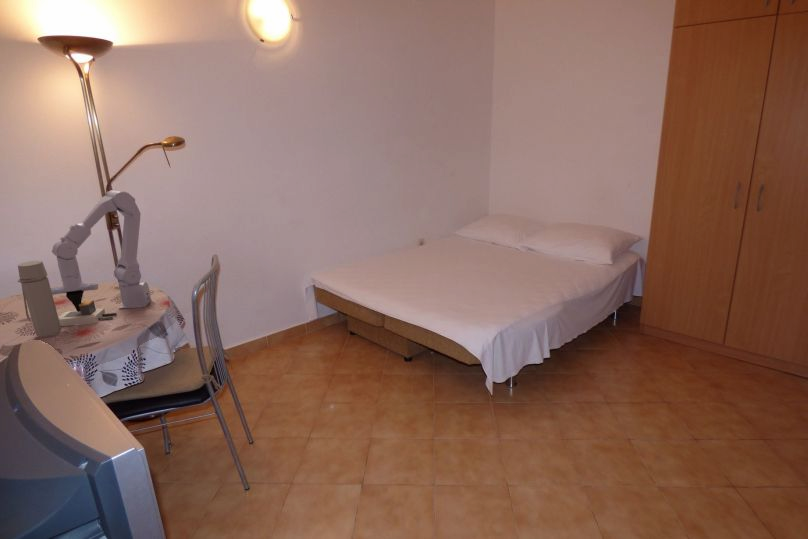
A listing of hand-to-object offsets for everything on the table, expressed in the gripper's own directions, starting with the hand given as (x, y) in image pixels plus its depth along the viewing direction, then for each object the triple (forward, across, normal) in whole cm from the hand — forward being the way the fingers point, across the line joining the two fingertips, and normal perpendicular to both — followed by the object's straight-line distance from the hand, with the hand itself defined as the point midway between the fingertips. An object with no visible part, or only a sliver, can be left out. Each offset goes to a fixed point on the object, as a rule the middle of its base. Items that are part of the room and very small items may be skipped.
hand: (79, 310), depth 175 cm
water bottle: (+4, +8, +10) cm, 13 cm away
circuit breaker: (+4, 0, 0) cm, 4 cm away
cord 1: (+4, -8, +4) cm, 10 cm away
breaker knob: (+1, -3, +1) cm, 3 cm away
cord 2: (+4, -9, 0) cm, 10 cm away
